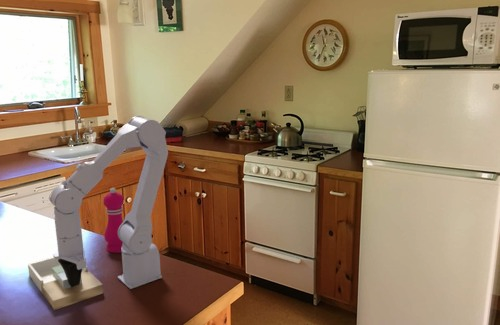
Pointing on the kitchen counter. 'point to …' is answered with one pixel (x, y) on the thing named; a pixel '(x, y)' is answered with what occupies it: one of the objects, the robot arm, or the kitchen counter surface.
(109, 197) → the pepper mill
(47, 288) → the oak plate
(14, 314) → the kitchen counter surface
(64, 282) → the tile
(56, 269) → the tile
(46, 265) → the box
